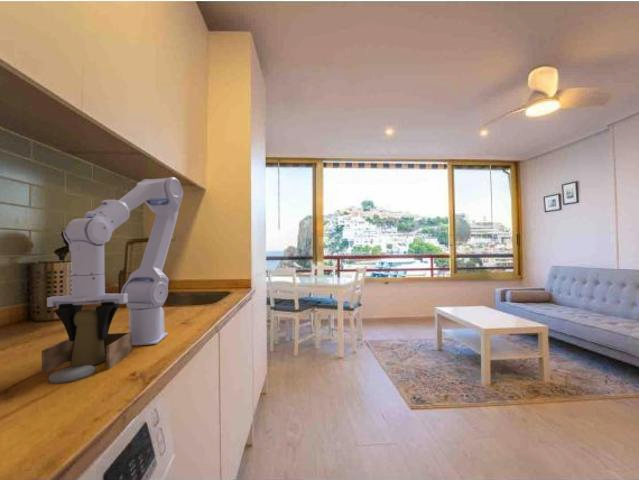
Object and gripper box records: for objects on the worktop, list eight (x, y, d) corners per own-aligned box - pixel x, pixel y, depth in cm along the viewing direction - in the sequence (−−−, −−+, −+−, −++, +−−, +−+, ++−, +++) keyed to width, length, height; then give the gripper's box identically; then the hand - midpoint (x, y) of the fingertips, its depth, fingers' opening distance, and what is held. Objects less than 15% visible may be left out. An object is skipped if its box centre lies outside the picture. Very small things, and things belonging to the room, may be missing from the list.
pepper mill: (99, 355, 71) (100, 305, 72) (110, 360, 68) (110, 308, 68) (66, 363, 67) (66, 310, 67) (76, 369, 63) (76, 313, 63)
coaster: (63, 369, 64) (63, 366, 64) (102, 367, 65) (102, 364, 65) (39, 384, 57) (39, 381, 57) (82, 381, 58) (82, 378, 58)
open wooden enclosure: (74, 355, 72) (74, 335, 72) (131, 351, 74) (131, 332, 74) (41, 374, 62) (41, 350, 62) (109, 369, 64) (109, 346, 64)
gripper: (36, 277, 62) (36, 347, 62) (116, 275, 65) (117, 342, 64) (59, 274, 69) (59, 337, 69) (131, 272, 72) (132, 333, 71)
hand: (88, 339), depth 67 cm, fingers closed on pepper mill, 5 cm apart
